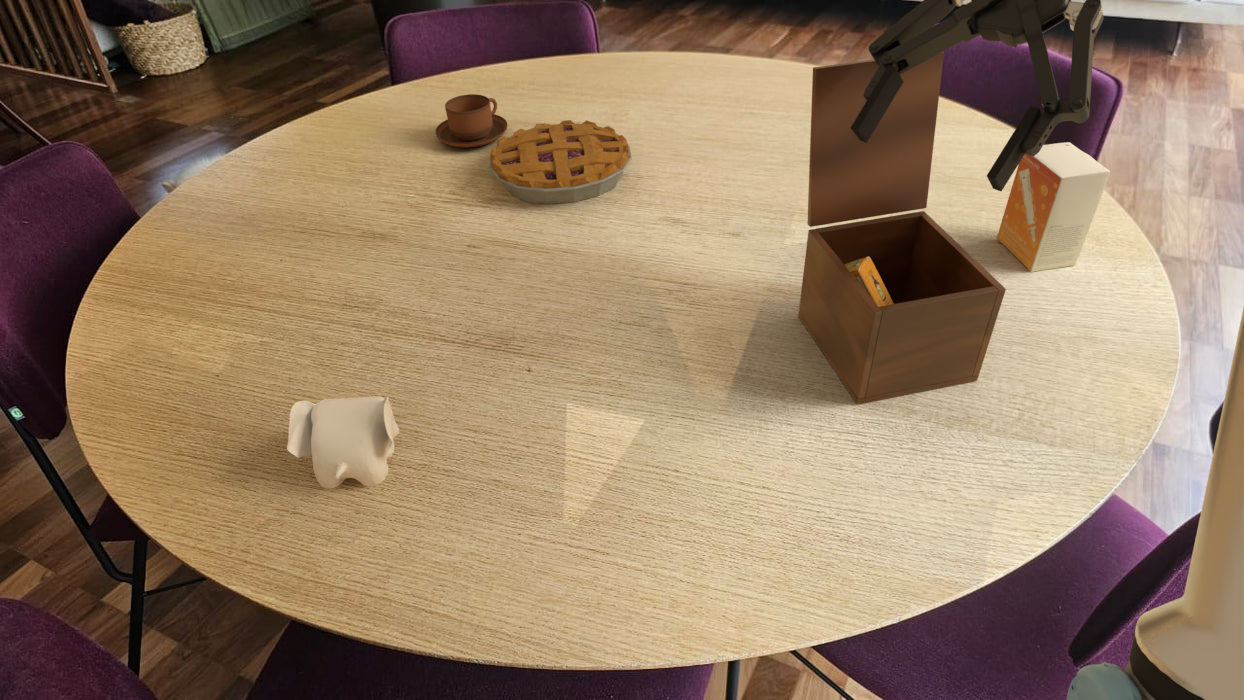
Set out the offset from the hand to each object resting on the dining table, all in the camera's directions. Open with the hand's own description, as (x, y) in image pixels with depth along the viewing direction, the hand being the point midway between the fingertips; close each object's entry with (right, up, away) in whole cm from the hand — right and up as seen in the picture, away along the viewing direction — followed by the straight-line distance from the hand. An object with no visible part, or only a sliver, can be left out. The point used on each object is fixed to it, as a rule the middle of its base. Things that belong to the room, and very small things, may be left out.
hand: (922, 158), depth 72 cm
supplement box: (+3, -17, +16) cm, 23 cm away
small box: (+26, -5, +31) cm, 41 cm away
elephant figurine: (-52, -28, +8) cm, 60 cm away
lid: (0, +4, +12) cm, 13 cm away
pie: (-36, +10, +54) cm, 65 cm away
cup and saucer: (-52, +19, +65) cm, 86 cm away
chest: (+2, -17, +18) cm, 25 cm away
